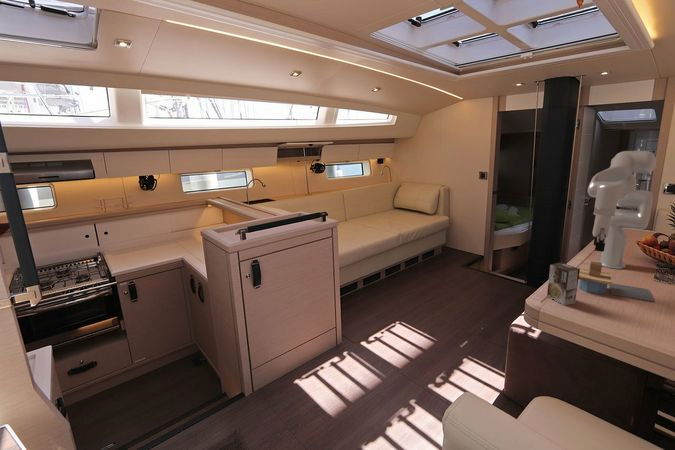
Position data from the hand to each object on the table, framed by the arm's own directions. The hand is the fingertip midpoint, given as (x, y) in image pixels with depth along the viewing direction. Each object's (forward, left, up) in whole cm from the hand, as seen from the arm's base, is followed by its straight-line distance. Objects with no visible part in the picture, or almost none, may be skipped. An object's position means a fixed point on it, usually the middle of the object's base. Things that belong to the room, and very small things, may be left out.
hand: (598, 248), depth 149 cm
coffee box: (+20, -12, -21) cm, 31 cm away
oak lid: (0, 0, -15) cm, 15 cm away
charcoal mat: (-4, +14, -21) cm, 25 cm away
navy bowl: (0, 0, -21) cm, 21 cm away
